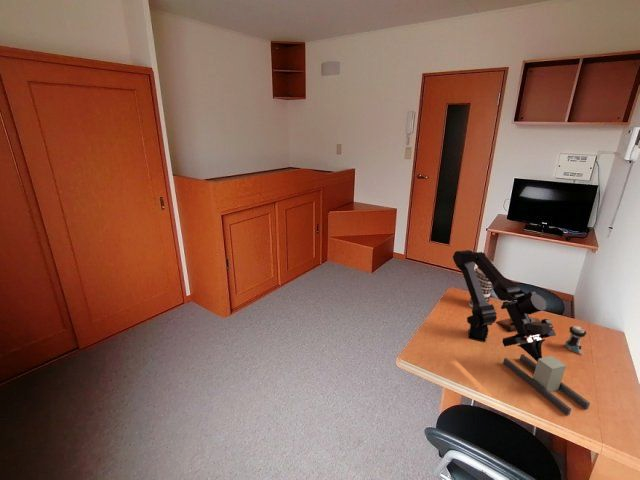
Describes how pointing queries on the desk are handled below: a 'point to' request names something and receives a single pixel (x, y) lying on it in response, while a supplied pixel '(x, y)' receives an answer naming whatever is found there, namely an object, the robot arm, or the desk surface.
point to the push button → (575, 339)
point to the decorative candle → (484, 284)
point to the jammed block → (549, 373)
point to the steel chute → (545, 392)
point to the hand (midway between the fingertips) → (540, 362)
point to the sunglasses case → (507, 325)
